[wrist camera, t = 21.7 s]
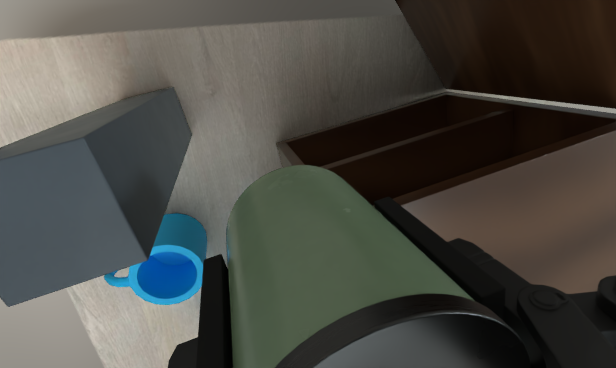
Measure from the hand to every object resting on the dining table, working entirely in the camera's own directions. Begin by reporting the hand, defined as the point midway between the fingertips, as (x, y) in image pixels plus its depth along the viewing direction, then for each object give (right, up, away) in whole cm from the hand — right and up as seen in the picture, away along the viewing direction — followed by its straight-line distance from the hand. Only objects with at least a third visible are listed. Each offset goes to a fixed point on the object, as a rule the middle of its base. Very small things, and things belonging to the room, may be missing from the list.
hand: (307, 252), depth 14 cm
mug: (-20, -5, +30) cm, 36 cm away
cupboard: (+10, +5, +34) cm, 36 cm away
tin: (-1, +1, +2) cm, 2 cm away
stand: (-18, +11, +24) cm, 32 cm away
